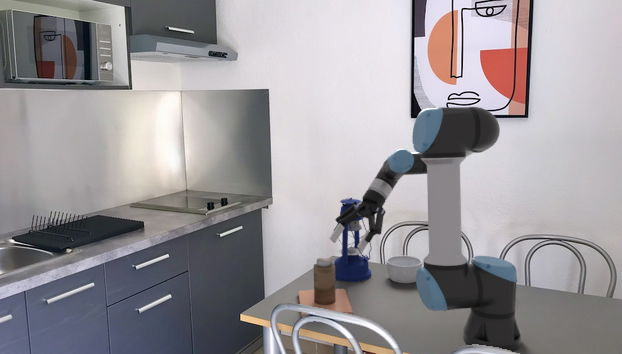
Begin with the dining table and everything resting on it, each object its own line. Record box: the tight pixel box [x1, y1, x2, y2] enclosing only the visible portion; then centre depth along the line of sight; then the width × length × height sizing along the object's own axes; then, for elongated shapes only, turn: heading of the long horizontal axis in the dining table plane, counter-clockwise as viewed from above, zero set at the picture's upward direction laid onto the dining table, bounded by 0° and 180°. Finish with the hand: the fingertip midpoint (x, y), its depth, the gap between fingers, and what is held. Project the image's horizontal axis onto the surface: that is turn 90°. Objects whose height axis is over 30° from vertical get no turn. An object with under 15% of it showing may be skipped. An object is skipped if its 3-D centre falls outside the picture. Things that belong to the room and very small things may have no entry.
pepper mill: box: [313, 256, 336, 305], centre depth 173 cm, size 7×7×14 cm
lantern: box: [333, 197, 372, 283], centre depth 201 cm, size 17×15×30 cm
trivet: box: [298, 288, 354, 317], centre depth 175 cm, size 20×16×2 cm
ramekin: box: [385, 254, 423, 284], centre depth 198 cm, size 13×13×7 cm
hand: (345, 244), depth 178 cm, fingers open, 13 cm apart
